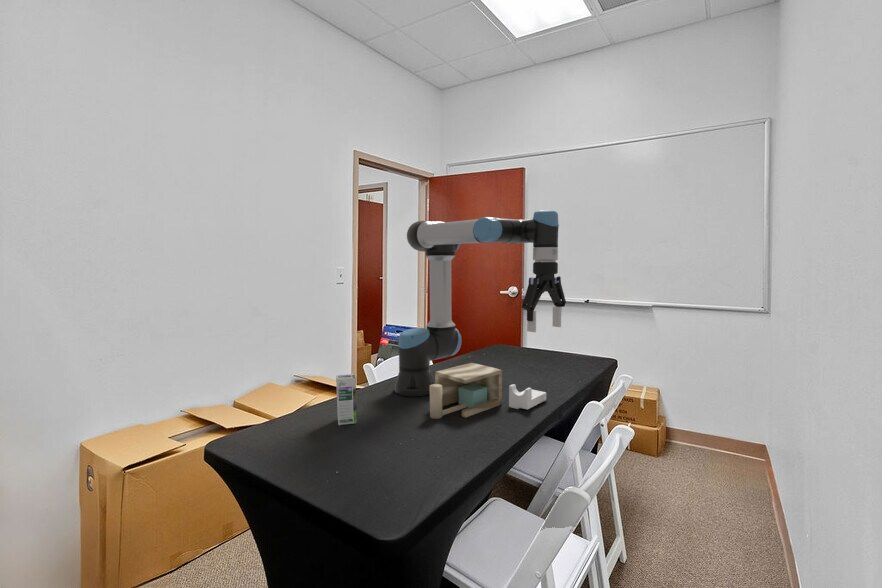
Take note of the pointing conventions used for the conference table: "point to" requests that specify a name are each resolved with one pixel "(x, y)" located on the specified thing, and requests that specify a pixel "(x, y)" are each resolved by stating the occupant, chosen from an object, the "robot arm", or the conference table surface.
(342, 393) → the syrup box
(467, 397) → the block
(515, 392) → the bracket
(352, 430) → the conference table surface
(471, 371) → the wooden frame
